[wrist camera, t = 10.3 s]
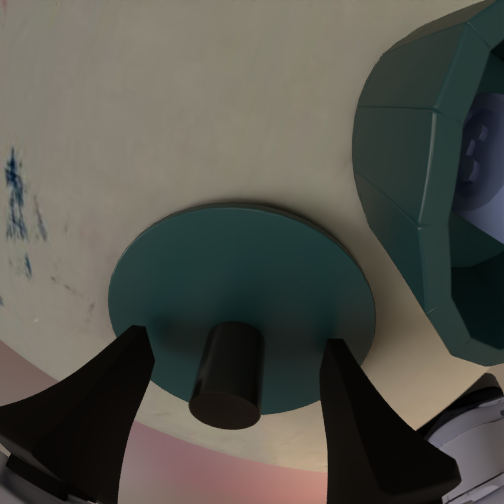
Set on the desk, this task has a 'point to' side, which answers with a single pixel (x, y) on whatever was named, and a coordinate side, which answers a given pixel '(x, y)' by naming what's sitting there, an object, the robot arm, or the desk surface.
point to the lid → (240, 308)
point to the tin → (434, 173)
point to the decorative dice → (482, 166)
